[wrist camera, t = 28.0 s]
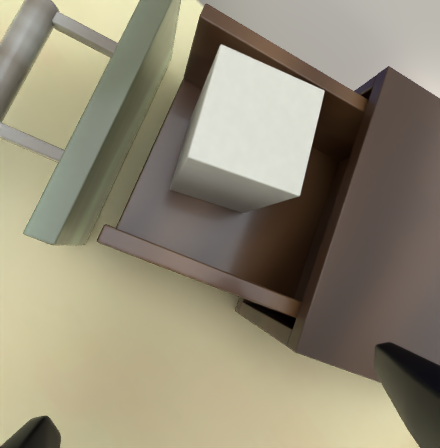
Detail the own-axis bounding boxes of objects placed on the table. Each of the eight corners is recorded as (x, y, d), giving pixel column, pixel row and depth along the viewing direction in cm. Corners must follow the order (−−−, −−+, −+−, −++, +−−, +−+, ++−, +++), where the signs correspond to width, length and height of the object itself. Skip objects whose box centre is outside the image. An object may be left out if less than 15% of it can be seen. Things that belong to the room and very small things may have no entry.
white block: (243, 213, 20) (300, 196, 13) (169, 189, 19) (186, 157, 12) (262, 142, 20) (325, 90, 14) (191, 115, 19) (220, 42, 12)
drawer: (-28, 203, 17) (-134, 176, 10) (77, 8, 19) (45, -116, 12) (287, 322, 21) (354, 356, 15) (344, 152, 23) (424, 116, 17)
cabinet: (234, 310, 21) (295, 352, 13) (301, 128, 24) (388, 65, 15) (415, 377, 25) (555, 444, 16) (458, 213, 27) (599, 199, 19)
